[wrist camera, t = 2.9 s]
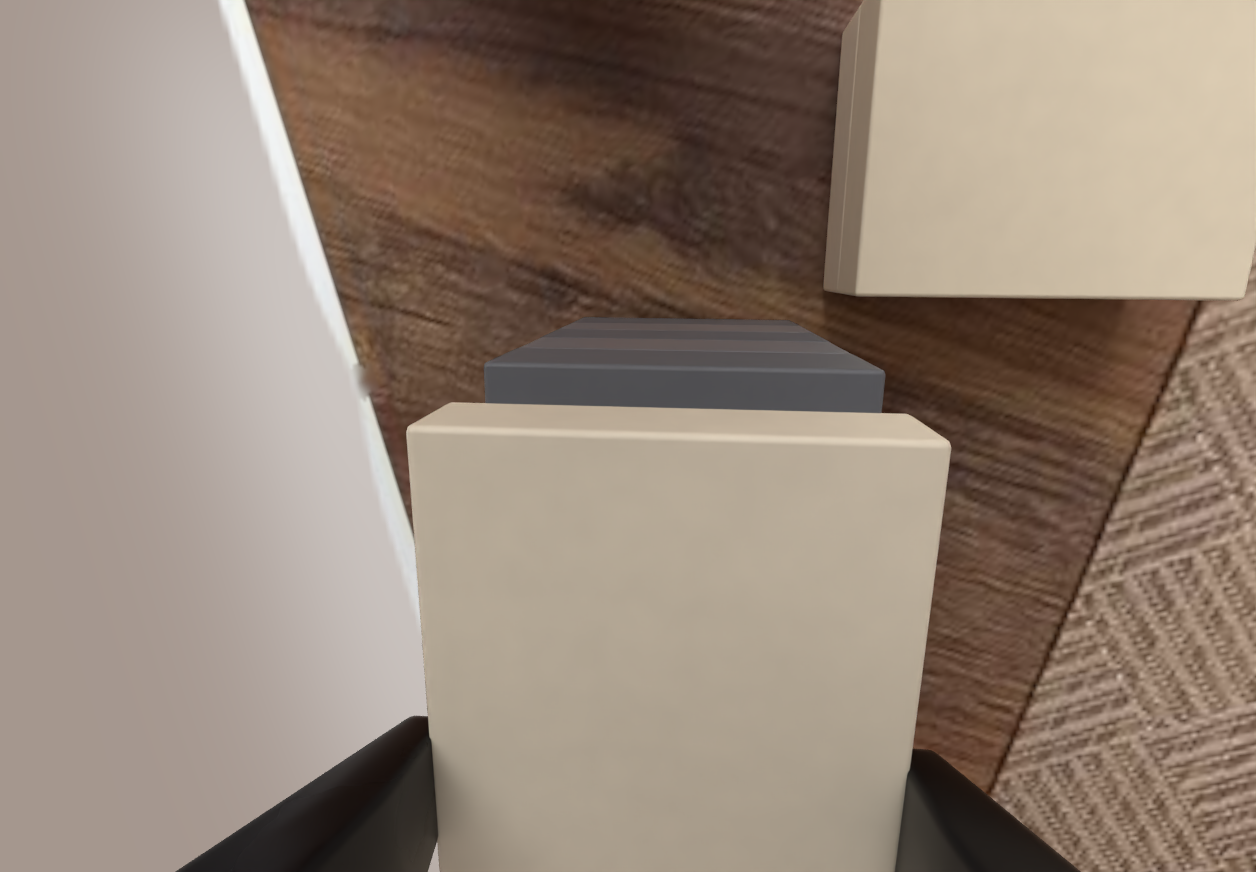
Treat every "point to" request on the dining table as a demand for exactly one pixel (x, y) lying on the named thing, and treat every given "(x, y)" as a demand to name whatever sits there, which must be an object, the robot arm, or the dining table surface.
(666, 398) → the grey stack
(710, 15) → the dining table surface
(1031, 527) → the dining table surface
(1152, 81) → the beige rectangular block
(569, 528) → the beige flat block
